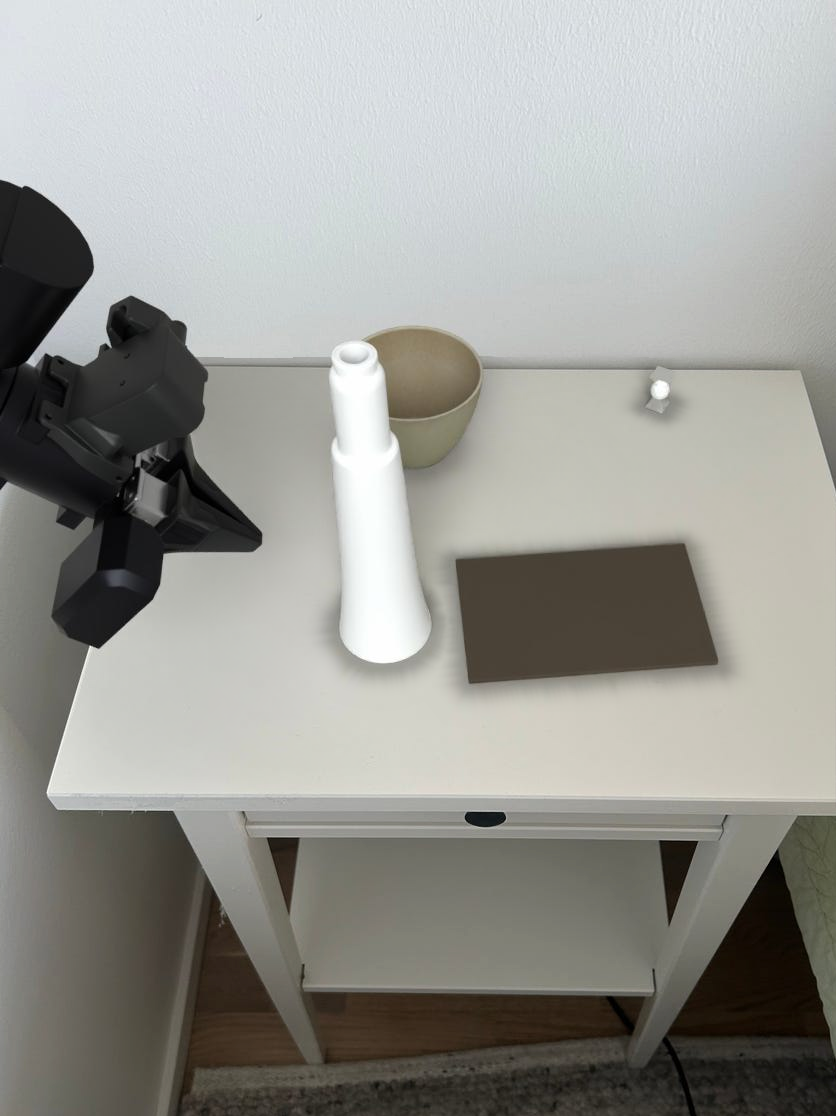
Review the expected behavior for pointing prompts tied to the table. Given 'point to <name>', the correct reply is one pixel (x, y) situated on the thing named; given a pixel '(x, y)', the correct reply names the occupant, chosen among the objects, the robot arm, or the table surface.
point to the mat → (582, 613)
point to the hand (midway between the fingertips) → (258, 543)
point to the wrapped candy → (660, 389)
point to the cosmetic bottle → (372, 516)
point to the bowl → (427, 389)
